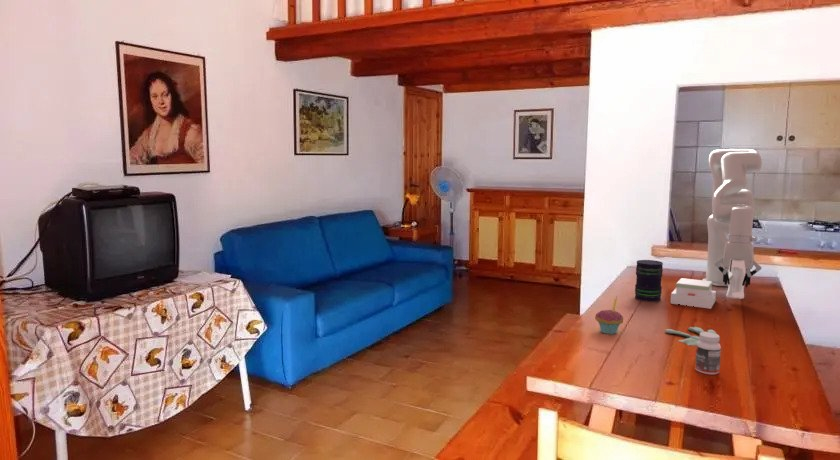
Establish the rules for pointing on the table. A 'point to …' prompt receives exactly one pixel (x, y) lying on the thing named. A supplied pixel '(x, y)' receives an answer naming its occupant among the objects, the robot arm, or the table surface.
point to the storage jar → (648, 280)
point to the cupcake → (609, 320)
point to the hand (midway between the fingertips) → (736, 284)
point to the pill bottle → (708, 353)
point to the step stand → (694, 293)
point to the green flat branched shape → (690, 339)
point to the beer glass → (736, 279)
